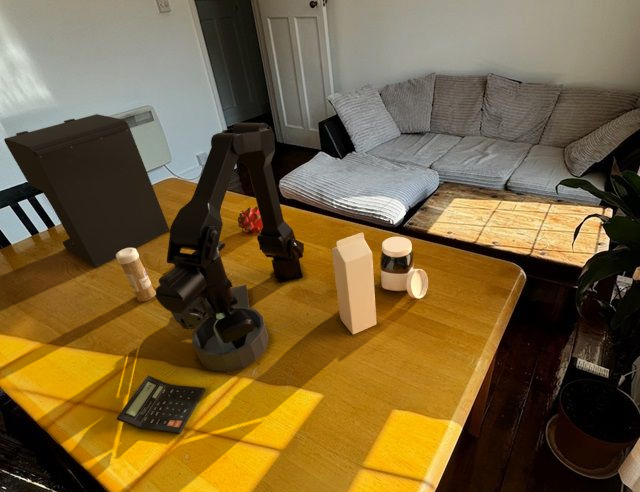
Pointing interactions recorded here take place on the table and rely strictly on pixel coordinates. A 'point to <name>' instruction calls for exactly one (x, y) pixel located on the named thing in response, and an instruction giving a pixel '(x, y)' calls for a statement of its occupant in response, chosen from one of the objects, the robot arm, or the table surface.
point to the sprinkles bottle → (136, 274)
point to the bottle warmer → (235, 358)
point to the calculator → (161, 406)
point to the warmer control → (239, 297)
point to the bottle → (224, 346)
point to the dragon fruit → (250, 220)
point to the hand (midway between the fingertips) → (231, 337)
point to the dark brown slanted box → (92, 184)
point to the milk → (354, 283)
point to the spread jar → (401, 268)
